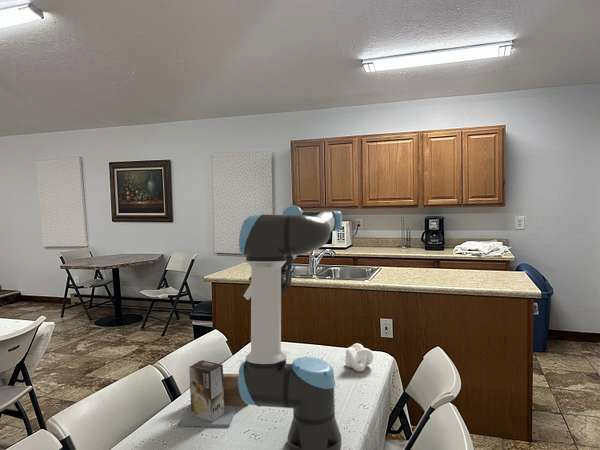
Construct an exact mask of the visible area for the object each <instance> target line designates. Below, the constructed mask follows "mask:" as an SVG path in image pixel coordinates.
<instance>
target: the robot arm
mask: <svg viewBox="0 0 600 450" xmlns="http://www.w3.org/2000/svg"><path fill="white" fill-rule="evenodd" d="M342 215H343V214H342V212H341V211H339V210H318V211H317V210H315V211H313V210H310V211H309V210H305V211H304V210H302V209H301V208H300V207H299V206H297V205H289V206H287V207H286V208H284V209H283V211H282V214H256V215H255V214H254V215H248V216H247V217H246V218H245V219H244V220H243V223H242V225H241V227H240V232H239V236H238V237H239V238H238V248H239V252H240V254H241V255H243V256H245V262H246V263H247V265H248V266H249V267H250V269H251V270H250V273H251V274H250V275H251V276H250V277H248V281H249V282H250V284H249V285H248V287H247V289H246V291H245V292H244V294H243V297H244V298H245V300H247V301H249V300H250V299H251V301H250V304H251V305H250V311H251V312H250V352H248V354H247V355H246V356H245V360H244V361H243V362H242V363H240V365H239V369H238V374H239V375H238V387H239V393H240V396H241V398H242V400H243V401H244V402H245V403H246V404H248V406H256V407H270V408H281V409H282V408H285V409H286V408H287V409H292V414H293V418H292V421H291V423H290V427H289V429H288V430H289V431H288V433H287V447H288V450H341V448H342V433H341V431H340V427H339V425H338V423H337V419H336V414H335V413H336V411H335V409H336V408H335V407H336V405H335V403H336V401H335V386H336V381H335V371H334V369H333V366H332V365H331V364H330V363H328V362H327V361H326V360H323V359H320V358H317V357H313V356H303V357H297V358H295V359H294V360H293V362H292V363H287V355H286V354H285V353H284V352H283V351H282V322H281V321H282V295H283V293H284V291H286V290H291V286H292V279H293V273H294V271H295V268H294V267H293V264H294V262H295V261H294V260H296V258H297V256H301V255H305V254H308V253H311V252H314V251H317V250H318V249H320V248H322V247H324V245H326V244H327V243H328V241H329V240H330V237H331V234H332V232H340V231H341V230H342V228H343V216H342Z"/></svg>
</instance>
